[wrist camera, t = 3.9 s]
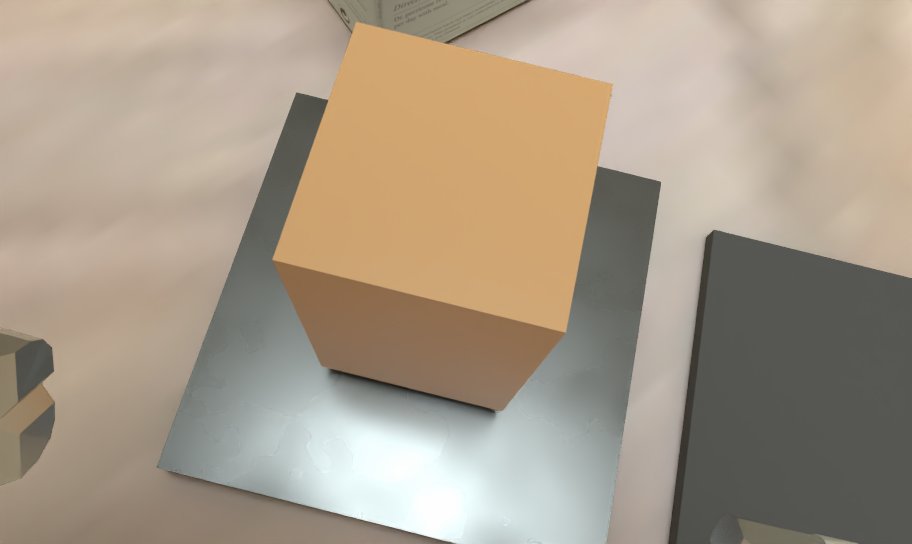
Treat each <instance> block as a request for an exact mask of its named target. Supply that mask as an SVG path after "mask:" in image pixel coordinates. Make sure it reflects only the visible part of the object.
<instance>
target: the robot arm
mask: <svg viewBox="0 0 912 544" xmlns="http://www.w3.org/2000/svg"><path fill="white" fill-rule="evenodd" d="M53 372H54V368H53V354H52V347H51V346H50V345H49V344H47V343H46V342H45V341H44V340H43V339H40V338H36V337H33V336H29V335H25V334H22V333H18V332H15V331H11V330H7V329H4V328H0V486H1V485H4V484H6V483H9V482H12V481H14V480H17V479H20V478H22V477H23V476H24V475H25V474H26V472H27V471H28V470H29V469H30V468H31V467H32V466H33V465H34V464H35V463H36V462H37V461H38V459H39V458H40V456H41V454H42V452H43V450H44V449H45V447H46V445H47V443H48V441H49V439H50V437H51V433H52V428H53V424H54V420H55V402H54V401H53V399H52V398H51V396H50V395H49V393H48V392H47V390H46V389H45V387H44V386H43V385H42V383H43V382H44V381H45V380H46V379H47V378H48V377H49V376H50V375H51V374H52V373H53ZM710 541H711V544H858V543H854V542H849V541H845V540H841V539H836V538H832V537H827V536H823V535H818V534H808V533H804V532H800V531H796V530H792V529H788V528H784V527H780V526H776V525H772V524H767V523H763V522H759V521H755V520H751V519H747V518H743V517H739V516H735V515H731V514H727V513H726V514H725V515H724V516H723V517H722V518H721V519H720V520H719V521H718V523H717V525H716V527H715V529H714V531H713V533H712V535H711V536H710Z"/></svg>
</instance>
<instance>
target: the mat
mask: <svg viewBox="0 0 912 544" xmlns="http://www.w3.org/2000/svg"><path fill="white" fill-rule="evenodd" d="M726 513H727V514H731V515H735V516H739V517H743V518H747V519H751V520H755V521H759V522H763V523H767V524H772V525H776V526H780V527H784V528H788V529H792V530H796V531H800V532H804V533H808V534H818V535H823V536H827V537H832V538H836V539H841V540H845V541H849V542H854V543H858V544H912V278H908V277H904V276H900V275H896V274H892V273H888V272H884V271H880V270H876V269H871V268H867V267H863V266H859V265H855V264H851V263H847V262H843V261H839V260H835V259H831V258H827V257H823V256H819V255H815V254H810V253H806V252H802V251H798V250H794V249H790V248H786V247H782V246H778V245H774V244H770V243H766V242H762V241H758V240H753V239H749V238H745V237H741V236H737V235H733V234H729V233H725V232H721V231H717V230H713V231H712V232H711V233H710V234H709V235H708V236H707V238H706V246H705V254H704V262H703V270H702V278H701V287H700V295H699V303H698V311H697V319H696V327H695V335H694V344H693V352H692V360H691V368H690V376H689V384H688V392H687V401H686V409H685V417H684V425H683V433H682V441H681V449H680V458H679V466H678V474H677V482H676V490H675V498H674V506H673V514H672V523H671V531H670V539H669V544H711V541H710V536H711V535H712V533H713V531H714V529H715V527H716V525H717V523H718V521H719V520H720V519H721V518H722V517H723V516H724V515H725V514H726Z"/></svg>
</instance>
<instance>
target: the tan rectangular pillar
mask: <svg viewBox="0 0 912 544" xmlns="http://www.w3.org/2000/svg"><path fill="white" fill-rule="evenodd" d="M612 86H613V84H610V83H606V82H601V81H597V80H593V79H589V78H585V77H581V76H577V75H573V74H569V73H564V72H560V71H556V70H552V69H548V68H544V67H540V66H536V65H532V64H527V63H523V62H519V61H515V60H511V59H507V58H503V57H499V56H495V55H490V54H486V53H482V52H478V51H474V50H470V49H466V48H462V47H458V46H454V45H449V44H445V43H441V42H437V41H433V40H429V39H425V38H421V37H417V36H412V35H408V34H404V33H400V32H396V31H392V30H388V29H384V28H380V27H375V26H371V25H367V24H363V23H359V22H356V24H355V27H354V29H353V32H352V35H351V38H350V41H349V44H348V46H347V49H346V52H345V55H344V58H343V61H342V63H341V66H340V69H339V72H338V75H337V78H336V80H335V83H334V86H333V89H332V92H331V95H330V97H329V100H328V103H327V106H326V109H325V112H324V114H323V117H322V120H321V123H320V126H319V129H318V132H317V134H316V137H315V140H314V143H313V146H312V149H311V151H310V154H309V157H308V160H307V163H306V166H305V168H304V171H303V174H302V177H301V180H300V183H299V185H298V188H297V191H296V194H295V197H294V200H293V202H292V205H291V208H290V211H289V214H288V217H287V219H286V222H285V225H284V228H283V231H282V234H281V236H280V239H279V242H278V245H277V248H276V251H275V253H274V256H273V259H272V260H273V262H274V265H275V267H276V269H277V271H278V273H279V275H280V278H281V280H282V282H283V284H284V286H285V288H286V291H287V293H288V295H289V297H290V299H291V301H292V304H293V306H294V308H295V310H296V312H297V314H298V316H299V319H300V321H301V323H302V325H303V327H304V329H305V332H306V334H307V336H308V338H309V340H310V342H311V345H312V347H313V349H314V351H315V353H316V355H317V358H318V360H319V362H320V364H321V366H323V367H327V368H331V369H335V370H339V371H343V372H347V373H351V374H355V375H359V376H362V377H366V378H370V379H374V380H378V381H382V382H386V383H390V384H394V385H398V386H402V387H406V388H410V389H414V390H418V391H422V392H426V393H430V394H434V395H438V396H442V397H446V398H450V399H454V400H458V401H462V402H466V403H470V404H474V405H478V406H482V407H486V408H490V409H494V410H498V411H503V410H504V409H505V407H506V406H507V405H508V404H509V402H510V401H511V400H512V399H513V397H514V396H515V395H516V394H517V393H518V391H519V390H520V389H521V388H522V386H523V385H524V384H525V383H526V381H527V380H528V379H529V378H530V376H531V375H532V374H533V373H534V372H535V370H536V369H537V368H538V367H539V365H540V364H541V363H542V362H543V360H544V359H545V358H546V357H547V355H548V354H549V353H550V352H551V351H552V349H553V348H554V347H555V346H556V344H557V343H558V342H559V341H560V339H561V338H562V337H563V336H564V334H565V333H566V330H567V324H568V319H569V314H570V308H571V303H572V298H573V293H574V287H575V282H576V277H577V271H578V266H579V261H580V255H581V250H582V245H583V240H584V234H585V229H586V224H587V218H588V213H589V208H590V203H591V197H592V192H593V187H594V181H595V176H596V171H597V166H598V160H599V155H600V150H601V144H602V139H603V134H604V129H605V123H606V118H607V113H608V107H609V102H610V97H611V91H612Z"/></svg>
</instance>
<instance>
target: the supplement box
mask: <svg viewBox="0 0 912 544" xmlns="http://www.w3.org/2000/svg"><path fill="white" fill-rule="evenodd" d="M329 1H330V3H331V4H332V6H333V7H334V8H335V10H336V11H337V13H338V14H339V15H340V17H341V18H342V19H343V21H344V22H345V24H346V25H347V26H348V28H349V29H350V30H351V32H353V29H354V27H355V24H356V22H359V23H363V24H367V25H371V26H375V27H380V28H384V29H388V30H392V31H396V32H400V33H404V34H408V35H412V36H417V37H421V38H425V39H429V40H433V41H437V42H441V43H445V42H447V41H449V40H451V39H453V38H454V37H456V36H458V35H460V34H462V33H464V32H466V31H468V30H470V29H472V28H474V27H476V26H478V25H480V24H482V23H484V22H486V21H487V20H489V19H491V18H493V17H495V16H497V15H499V14H501V13H503V12H505V11H507V10H509V9H511V8H513V7H515V6H517V5H519V4H520V3H522V2H524V1H526V0H329Z"/></svg>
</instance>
